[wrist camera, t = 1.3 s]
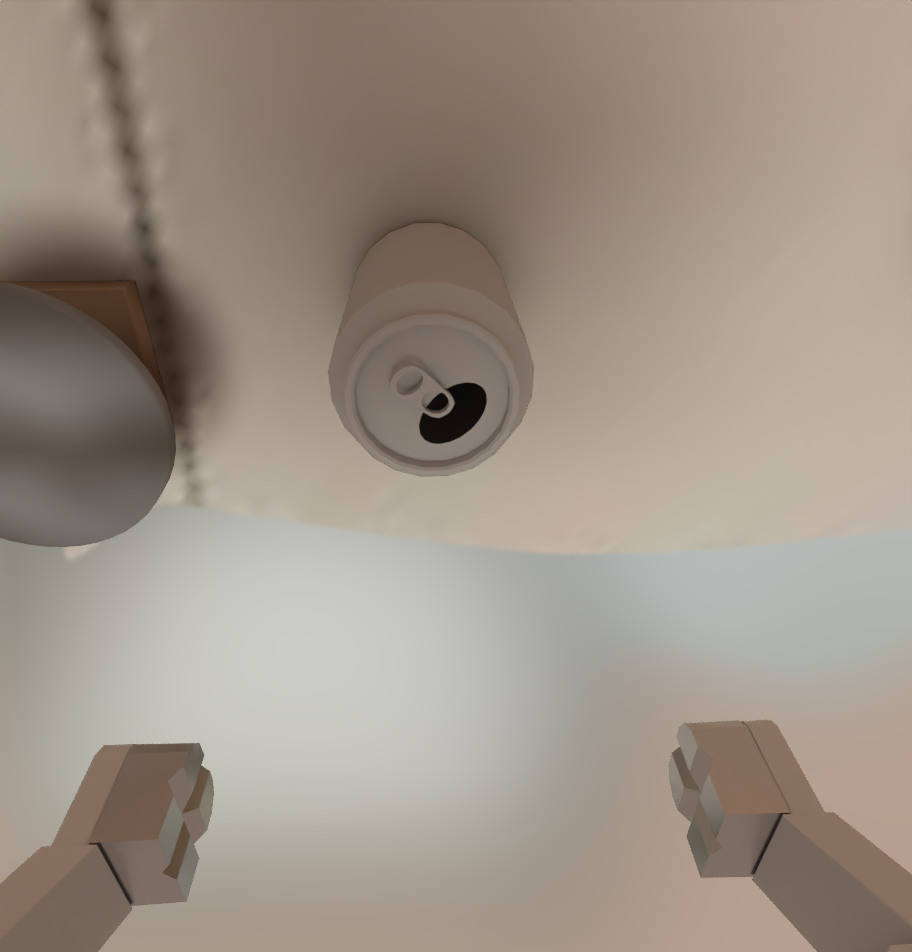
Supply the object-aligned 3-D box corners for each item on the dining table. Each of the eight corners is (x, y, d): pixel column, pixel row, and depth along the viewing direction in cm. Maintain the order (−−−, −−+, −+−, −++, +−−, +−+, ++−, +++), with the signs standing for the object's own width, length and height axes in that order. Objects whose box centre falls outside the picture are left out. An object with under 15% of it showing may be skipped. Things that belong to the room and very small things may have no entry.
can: (431, 393, 35) (436, 528, 25) (322, 299, 32) (277, 408, 22) (534, 295, 32) (585, 401, 22) (426, 182, 29) (428, 245, 19)
